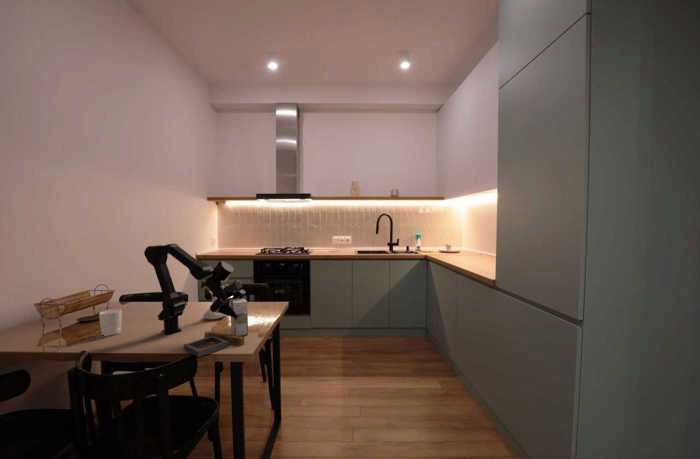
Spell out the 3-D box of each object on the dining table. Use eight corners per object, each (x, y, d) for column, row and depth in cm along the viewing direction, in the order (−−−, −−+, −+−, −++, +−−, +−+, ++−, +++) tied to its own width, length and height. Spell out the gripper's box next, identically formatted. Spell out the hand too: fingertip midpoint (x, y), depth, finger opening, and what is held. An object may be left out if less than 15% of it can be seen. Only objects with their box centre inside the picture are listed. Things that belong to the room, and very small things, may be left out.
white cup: (126, 332, 137) (125, 309, 137) (106, 338, 130) (105, 314, 130) (116, 330, 141) (115, 308, 140) (96, 335, 133) (95, 313, 133)
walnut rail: (204, 338, 126) (204, 332, 126) (207, 337, 127) (207, 331, 127) (241, 345, 117) (240, 338, 117) (244, 343, 119) (243, 337, 119)
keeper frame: (184, 349, 115) (183, 344, 115) (213, 340, 123) (213, 335, 123) (198, 357, 107) (197, 351, 107) (228, 346, 116) (228, 341, 116)
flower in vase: (200, 322, 148) (198, 271, 147) (205, 315, 159) (203, 267, 158) (229, 319, 151) (227, 269, 151) (232, 313, 162) (230, 266, 162)
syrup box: (244, 330, 134) (243, 297, 133) (248, 334, 129) (247, 300, 128) (231, 333, 130) (229, 300, 130) (234, 337, 125) (233, 302, 125)
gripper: (215, 279, 121) (241, 307, 119) (241, 271, 139) (264, 296, 137) (198, 298, 122) (224, 326, 120) (226, 288, 141) (248, 313, 139)
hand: (242, 314), depth 129 cm, fingers closed on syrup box, 8 cm apart
